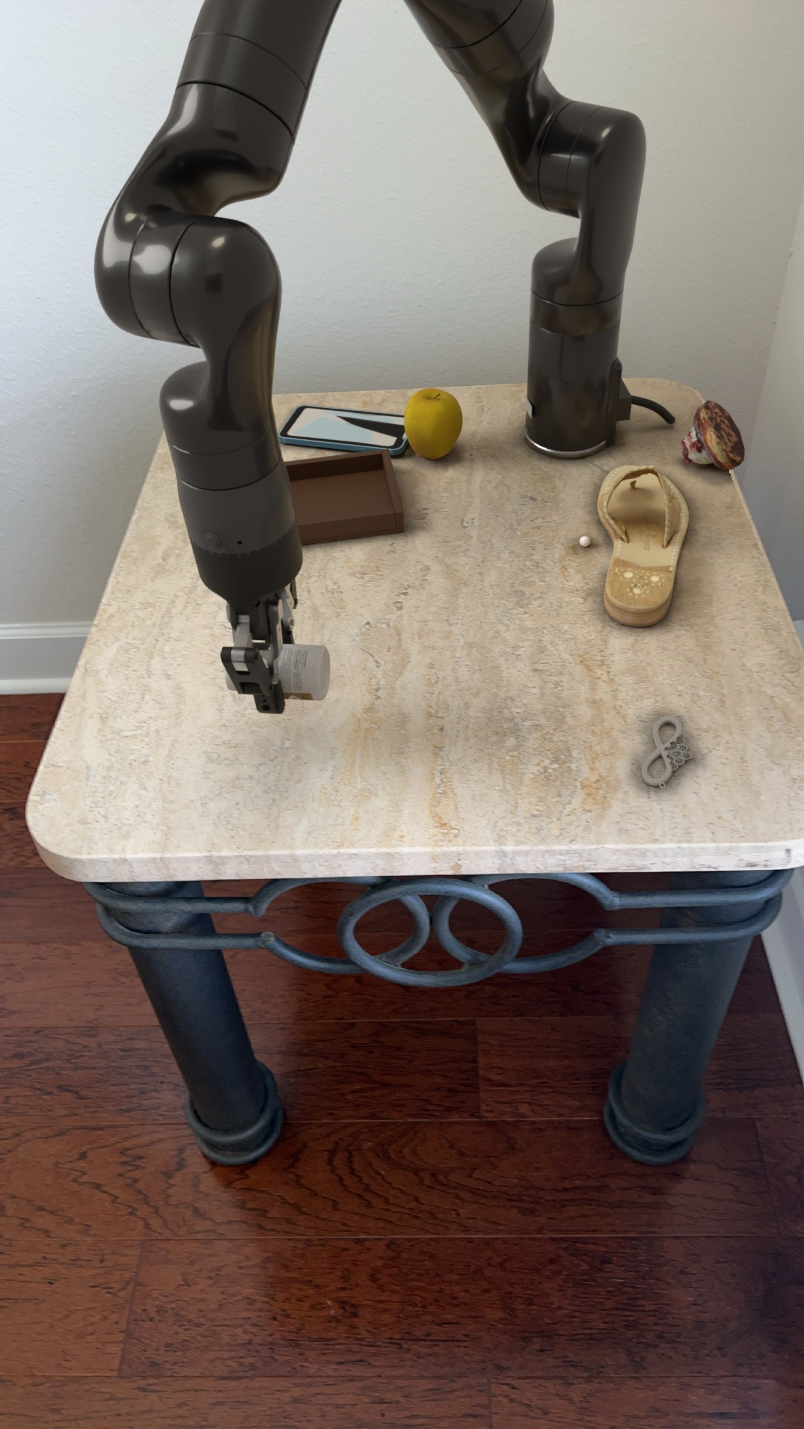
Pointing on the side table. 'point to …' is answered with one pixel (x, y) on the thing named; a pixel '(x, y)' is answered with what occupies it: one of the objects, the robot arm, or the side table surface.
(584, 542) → the sphere
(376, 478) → the tray
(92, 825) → the side table surface
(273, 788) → the side table surface
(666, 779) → the charm
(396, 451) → the smartphone
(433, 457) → the apple
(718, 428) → the pastry
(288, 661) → the pill bottle
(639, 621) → the sandal
